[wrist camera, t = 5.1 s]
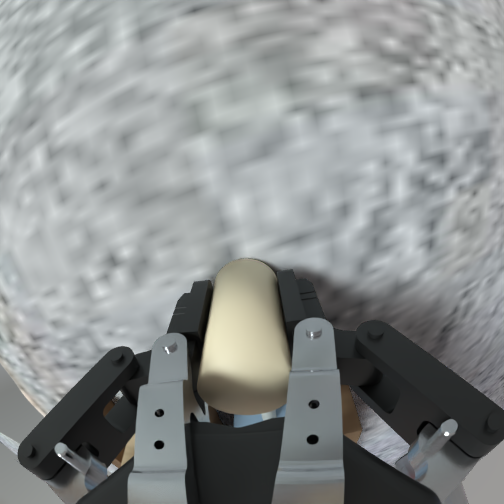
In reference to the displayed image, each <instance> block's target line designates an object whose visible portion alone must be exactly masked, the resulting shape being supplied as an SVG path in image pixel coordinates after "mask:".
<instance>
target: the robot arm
mask: <svg viewBox="0 0 504 504" xmlns="http://www.w3.org/2000/svg"><path fill="white" fill-rule="evenodd" d="M277 281H278V288H279V293H280V299H281V304H282V310H283V316H284V321H285V327H286V333H287V339H288V343H289V349H290V355H291V360H292V370H291V371H290V373H289V383H288V393H287V403H286V412H285V417H277V418H271V419H268V420H264V421H261V422H258V423H254V424H251V425H248V426H244V427H238V428H237V427H231V426H225V425H220V424H215V423H210V420H209V413H208V404H207V403H206V402H204V401H203V399H202V398H201V397H200V395H199V394H198V391H197V382H198V375H199V369H200V363H201V357H202V351H203V345H204V339H205V333H206V327H207V321H208V316H209V310H210V305H211V299H212V294H213V287H212V283H211V281H210V280H205V281H196V282H194V283H193V286H192V289H191V292H190V293H184V294H183V295H182V296H181V298H180V299H179V300H178V301H177V304H176V307H175V310H174V313H173V316H172V319H171V322H170V325H169V328H168V331H167V334H165V335H163V336H161V337H159V338H158V339H157V340H156V341H155V342H154V344H153V346H152V350H150V351H147V352H143V353H139V354H136V355H134V353H133V351H132V350H131V349H130V348H129V347H125V346H121V347H116V348H114V349H112V350H110V351H109V352H108V353H107V354H106V355H105V356H104V357H103V358H102V359H101V360H100V361H99V362H98V363H97V364H96V365H95V366H94V367H93V368H92V369H91V370H90V371H89V372H88V373H87V374H86V375H85V376H84V377H83V378H82V379H81V380H80V381H79V382H78V383H77V384H76V385H75V386H74V387H73V388H72V389H71V390H70V391H69V392H68V393H67V394H66V395H65V396H64V397H63V398H62V400H61V401H60V402H59V403H58V404H57V405H56V406H55V407H54V408H53V409H52V410H51V411H50V412H49V413H48V414H47V415H46V416H45V418H44V419H43V420H42V421H41V422H40V423H39V424H38V425H37V426H36V427H35V428H34V429H33V430H32V432H31V433H30V434H29V435H28V436H27V437H26V438H25V439H24V440H23V441H22V443H21V444H20V446H19V449H18V459H19V462H20V464H21V465H22V466H23V467H25V468H26V469H28V470H29V471H30V472H32V473H33V474H35V475H36V476H37V477H38V478H40V479H41V480H43V481H44V482H46V483H47V484H48V485H49V486H50V488H51V489H52V490H53V491H54V492H55V493H56V494H57V495H58V497H59V498H60V499H61V500H62V501H63V502H64V503H65V504H469V503H468V500H467V497H466V494H465V491H464V488H463V485H462V481H464V480H465V477H466V476H467V474H468V473H469V472H470V471H471V470H472V468H473V467H474V466H475V464H476V463H477V462H478V461H479V460H481V459H482V458H483V457H484V456H486V455H487V454H488V453H489V452H490V451H491V450H492V449H494V448H495V447H496V446H497V445H498V444H499V443H500V442H501V441H503V439H504V410H503V409H502V408H501V407H499V406H498V405H497V404H495V403H494V402H493V401H492V400H490V399H489V398H488V397H486V396H485V395H484V394H482V393H481V392H480V391H478V390H477V389H476V388H474V387H473V386H472V385H470V384H469V383H468V382H466V381H465V380H464V379H462V378H461V377H460V376H458V375H457V374H456V373H454V372H453V371H452V370H450V369H449V368H448V367H446V366H445V365H444V364H442V363H441V362H439V361H438V360H437V359H435V358H434V357H433V356H431V355H430V354H429V353H427V352H426V351H424V350H423V349H422V348H420V347H419V346H418V345H416V344H415V343H413V342H412V341H411V340H409V339H408V338H406V337H405V336H404V335H402V334H401V333H399V332H398V331H397V330H395V329H394V328H392V327H391V326H390V325H388V324H387V323H385V322H382V321H377V320H372V321H367V322H364V323H362V324H361V325H360V326H359V327H358V328H357V331H343V330H338V329H335V328H333V326H332V325H331V323H330V322H328V321H327V320H326V319H325V317H324V314H323V311H322V308H321V306H320V303H319V300H318V298H317V295H316V292H315V290H314V287H313V284H312V283H311V282H309V281H308V280H307V279H306V278H305V279H298V280H296V279H295V276H294V273H293V270H292V269H291V270H284V271H277ZM340 385H350V387H351V389H352V390H353V391H354V392H355V393H356V394H357V395H358V396H359V397H360V398H361V399H362V400H363V401H364V402H365V403H366V404H367V405H369V406H370V407H371V408H372V409H373V410H374V411H375V412H376V413H377V414H378V415H379V416H380V417H381V418H382V419H383V420H384V421H385V422H386V423H387V424H388V425H389V426H390V427H391V428H392V429H393V430H394V431H395V432H396V433H397V434H398V435H399V436H401V437H402V438H403V439H404V440H405V441H406V442H407V443H408V444H409V445H410V447H409V450H408V454H407V455H406V456H404V457H403V458H401V459H400V460H398V461H397V462H396V464H395V466H396V469H395V468H394V467H392V466H390V465H389V464H387V463H386V462H384V461H382V460H381V459H379V458H378V457H376V456H375V455H373V454H371V453H370V452H368V451H367V450H365V449H364V448H362V447H361V446H359V445H358V444H357V443H355V442H354V441H352V440H351V439H349V438H348V437H346V436H345V435H344V434H343V428H342V403H341V386H340ZM119 390H120V391H121V392H122V394H123V396H122V397H121V398H120V400H119V401H118V402H117V403H116V404H115V405H114V407H113V408H112V409H111V410H110V411H109V412H108V414H107V415H106V416H105V417H104V415H103V411H104V408H105V406H106V405H107V404H108V403H109V402H110V401H111V399H112V398H113V397H114V396H115V395H116V394H117V393H118V392H119ZM134 434H135V449H134V456H133V457H132V458H131V459H129V460H128V461H127V462H126V463H125V464H123V465H122V466H121V467H120V468H119V469H117V470H116V471H115V472H114V473H113V474H111V475H110V476H108V475H107V468H108V467H109V466H110V464H111V463H112V462H113V461H114V459H115V458H116V457H117V456H118V454H119V453H120V452H121V451H122V449H123V448H124V447H125V445H126V444H127V443H128V442H129V440H130V439H131V438H132V437H133V435H134Z"/></svg>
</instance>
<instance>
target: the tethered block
mask: <svg viewBox="0 0 504 504" xmlns="http://www.w3.org/2000/svg"><path fill="white" fill-rule="evenodd" d="M291 370H292V360H291V355H290V349H289V343H288V339H287V333H286V327H285V321H284V316H283V310H282V304H281V299H280V293H279V288H278V281H277V277H276V275H275V273H274V272H273V270H272V269H271V268H270V267H269V266H267V265H266V264H264V263H263V262H260V261H258V260H254V259H238V260H235V261H232V262H230V263H228V264H226V265H225V266H224V267H223V268H222V269H221V270H220V271H219V272H218V274H217V276H216V279H215V283H214V288H213V294H212V299H211V305H210V310H209V316H208V321H207V327H206V333H205V339H204V345H203V351H202V357H201V363H200V369H199V375H198V382H197V391H198V394H199V395H200V397H201V398H202V399H203V401H204V402H206V403H207V404H208V405H210V406H211V407H213V408H215V409H217V410H220V411H223V412H226V413H230V414H234V427H237V428H238V427H244V426H248V425H251V424H254V423H258V422H261V421H264V420H268V419H271V418H277V417H285V412H286V403H287V393H288V383H289V373H290V371H291Z"/></svg>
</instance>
